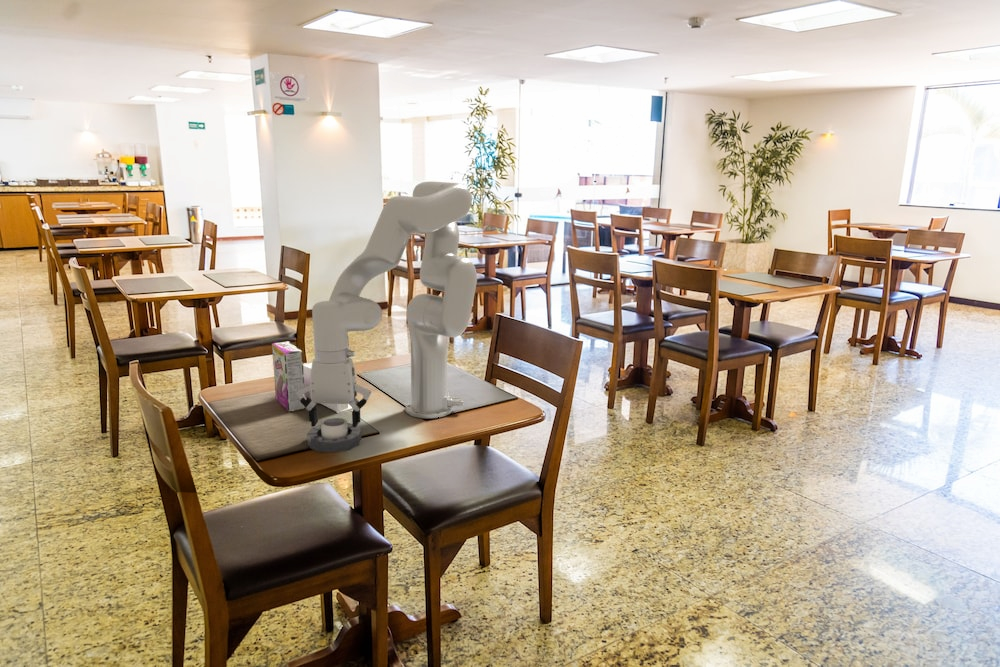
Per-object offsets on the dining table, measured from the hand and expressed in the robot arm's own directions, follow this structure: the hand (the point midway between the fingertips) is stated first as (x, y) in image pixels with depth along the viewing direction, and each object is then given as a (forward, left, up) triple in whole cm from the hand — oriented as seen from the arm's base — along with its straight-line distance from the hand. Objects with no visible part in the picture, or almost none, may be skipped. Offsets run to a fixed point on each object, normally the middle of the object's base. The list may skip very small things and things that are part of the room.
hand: (335, 424), depth 157 cm
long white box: (+9, -27, -5) cm, 29 cm away
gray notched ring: (0, 0, -4) cm, 4 cm away
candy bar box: (+18, -24, -4) cm, 30 cm away
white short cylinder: (0, 0, -4) cm, 4 cm away
